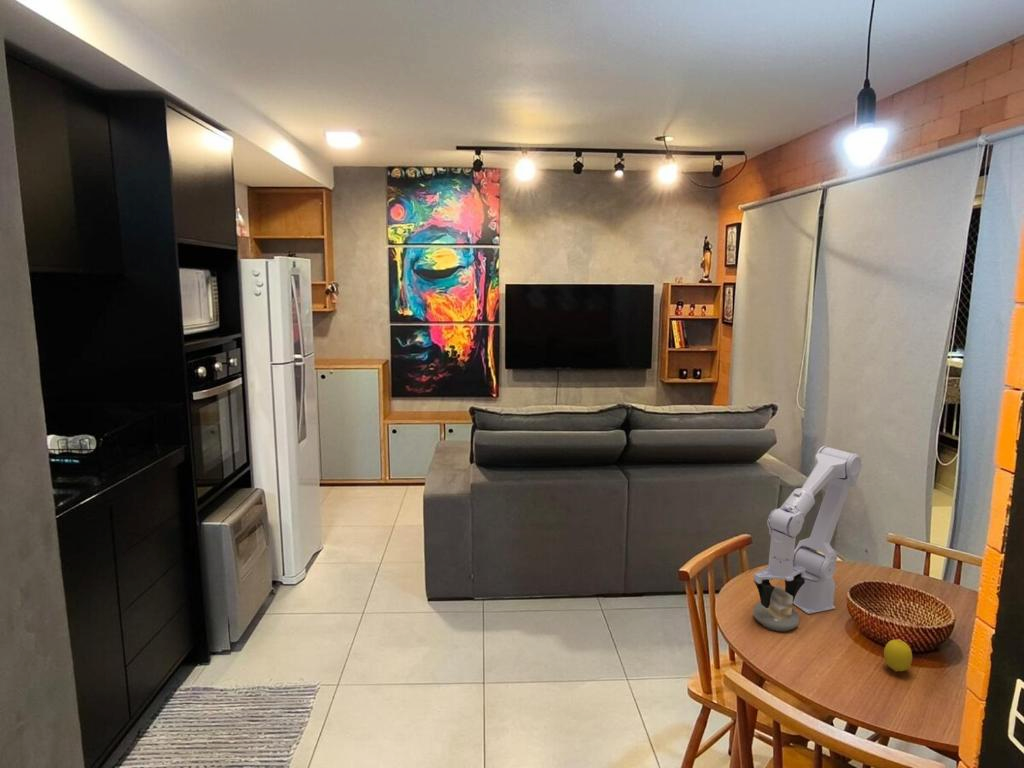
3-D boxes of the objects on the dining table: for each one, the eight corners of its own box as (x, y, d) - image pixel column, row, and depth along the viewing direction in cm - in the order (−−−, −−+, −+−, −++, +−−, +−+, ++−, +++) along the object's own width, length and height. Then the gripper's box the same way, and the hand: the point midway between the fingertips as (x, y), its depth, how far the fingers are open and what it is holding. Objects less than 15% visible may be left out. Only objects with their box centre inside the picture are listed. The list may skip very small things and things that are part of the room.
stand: (777, 607, 169) (778, 598, 169) (807, 629, 159) (808, 620, 159) (744, 613, 166) (744, 605, 166) (772, 636, 156) (773, 627, 155)
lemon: (907, 667, 144) (912, 636, 143) (911, 681, 139) (916, 649, 138) (880, 661, 147) (884, 630, 145) (883, 674, 142) (887, 643, 140)
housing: (774, 605, 165) (776, 585, 164) (790, 617, 160) (793, 596, 159) (762, 608, 164) (764, 587, 163) (778, 620, 159) (780, 599, 157)
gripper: (768, 566, 153) (764, 616, 156) (816, 558, 157) (811, 607, 160) (750, 553, 160) (745, 601, 162) (795, 546, 164) (791, 593, 167)
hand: (776, 603), depth 162 cm, fingers open, 7 cm apart
